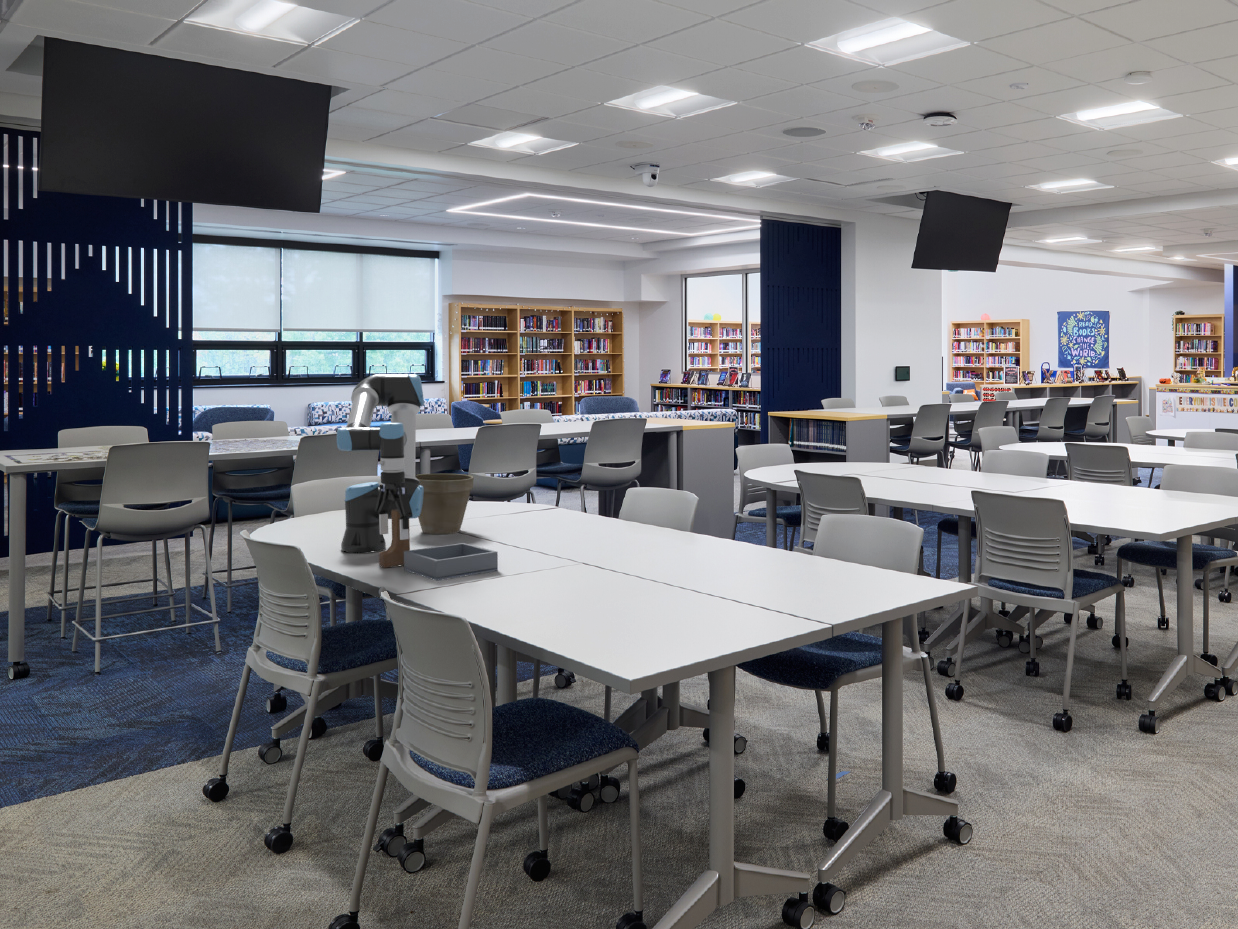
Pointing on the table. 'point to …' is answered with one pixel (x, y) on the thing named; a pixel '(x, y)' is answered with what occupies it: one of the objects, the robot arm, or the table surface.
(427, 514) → the plant pot
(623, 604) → the table surface
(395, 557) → the wooden block
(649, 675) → the table surface
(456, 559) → the open-top box
